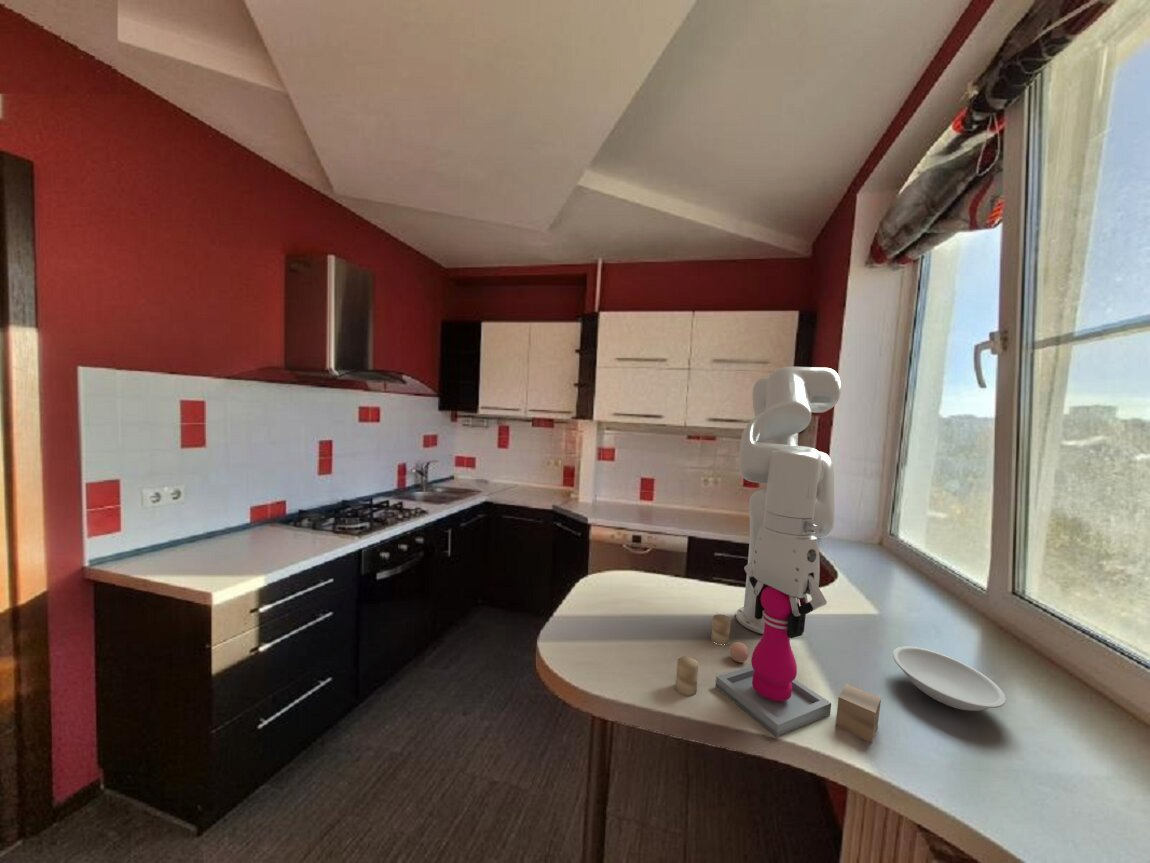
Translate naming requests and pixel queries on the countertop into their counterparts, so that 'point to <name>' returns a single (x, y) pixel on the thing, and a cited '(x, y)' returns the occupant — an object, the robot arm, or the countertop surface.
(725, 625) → the cork
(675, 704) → the countertop surface
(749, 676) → the tray
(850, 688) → the walnut block
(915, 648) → the dish
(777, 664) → the pepper mill
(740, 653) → the ball
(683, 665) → the cork
